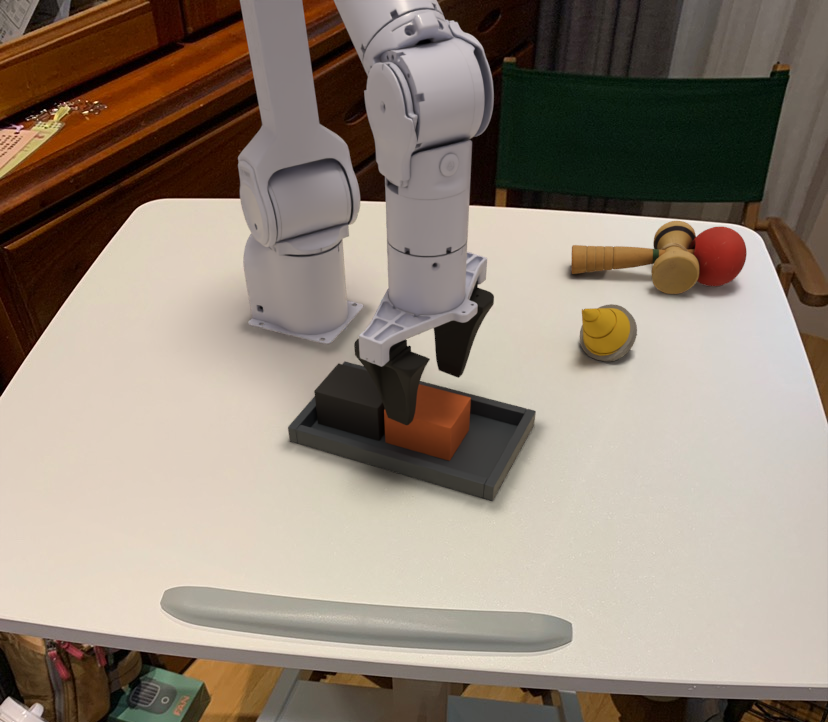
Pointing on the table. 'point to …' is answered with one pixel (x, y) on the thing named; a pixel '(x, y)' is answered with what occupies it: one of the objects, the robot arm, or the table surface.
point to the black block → (350, 402)
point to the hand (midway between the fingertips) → (425, 395)
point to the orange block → (432, 424)
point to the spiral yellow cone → (607, 332)
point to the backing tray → (466, 471)
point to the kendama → (673, 257)
